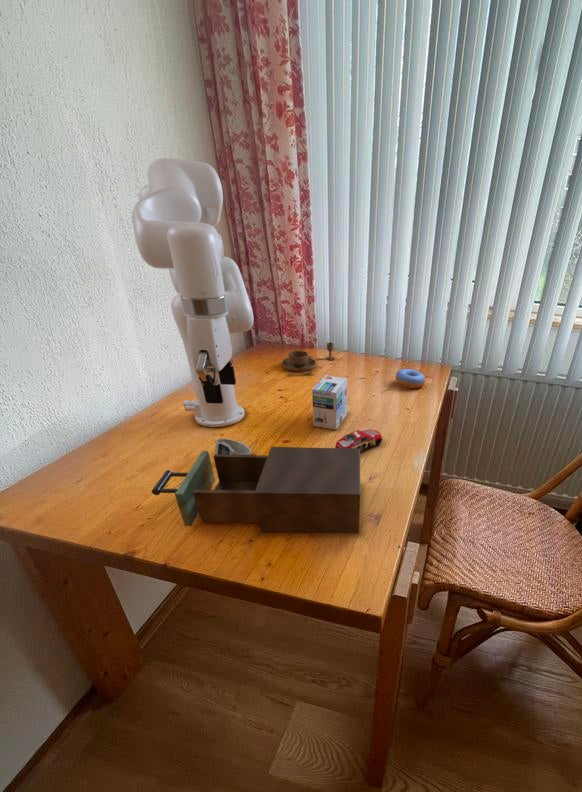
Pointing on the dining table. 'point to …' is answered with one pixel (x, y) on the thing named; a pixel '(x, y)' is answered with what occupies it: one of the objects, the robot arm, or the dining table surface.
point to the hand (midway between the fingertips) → (222, 392)
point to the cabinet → (309, 491)
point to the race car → (360, 440)
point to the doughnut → (410, 378)
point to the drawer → (217, 488)
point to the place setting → (302, 361)
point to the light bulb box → (329, 402)
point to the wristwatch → (231, 447)
